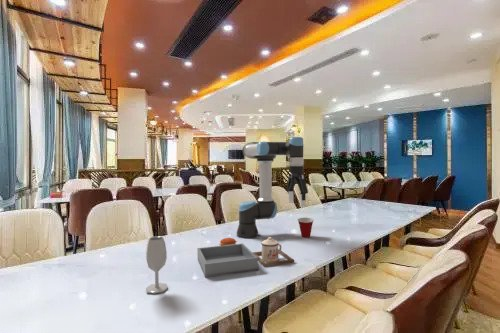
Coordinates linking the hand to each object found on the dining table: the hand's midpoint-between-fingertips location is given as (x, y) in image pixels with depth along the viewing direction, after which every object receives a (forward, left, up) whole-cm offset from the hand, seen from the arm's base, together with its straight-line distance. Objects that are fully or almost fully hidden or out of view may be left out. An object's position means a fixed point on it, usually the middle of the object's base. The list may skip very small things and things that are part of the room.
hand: (296, 204), depth 158 cm
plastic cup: (-32, +23, -28) cm, 48 cm away
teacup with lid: (+1, -15, -28) cm, 32 cm away
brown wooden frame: (+1, -15, -28) cm, 32 cm away
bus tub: (+1, -40, -28) cm, 49 cm away
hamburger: (-23, -33, -28) cm, 49 cm away
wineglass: (+19, -73, -28) cm, 80 cm away
